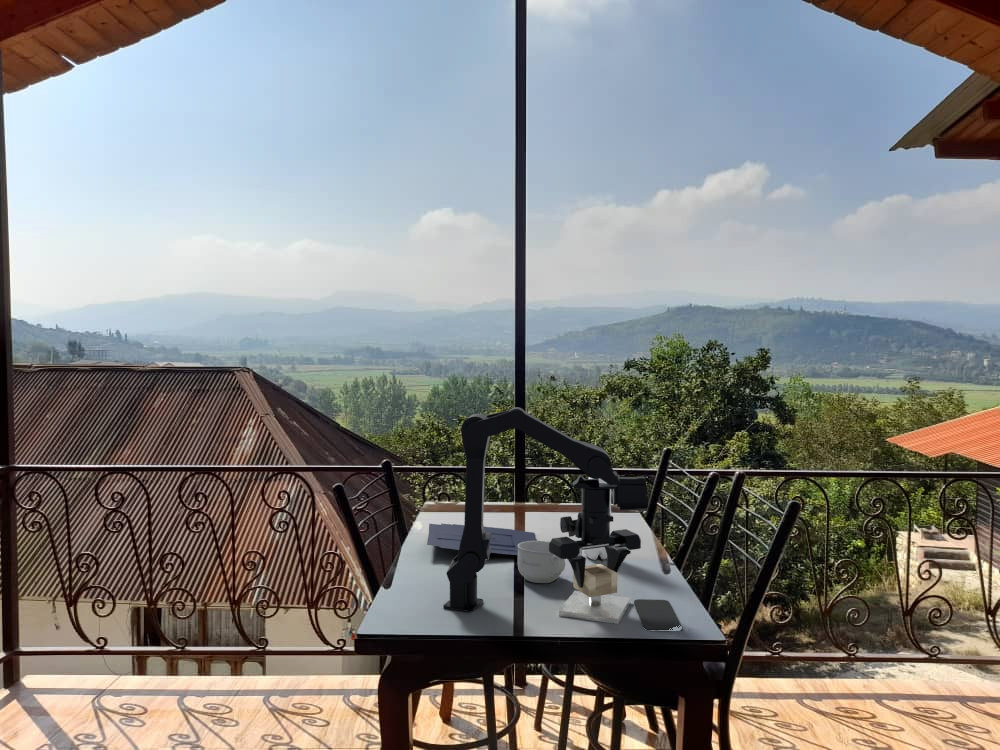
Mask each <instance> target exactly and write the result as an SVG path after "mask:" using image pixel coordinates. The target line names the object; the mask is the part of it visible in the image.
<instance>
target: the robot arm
mask: <svg viewBox="0 0 1000 750" xmlns="http://www.w3.org/2000/svg"><path fill="white" fill-rule="evenodd" d="M513 429H515V430H518V431H520V432H521V433H523V434H525V435H527V437H528V436H529V437H530V438H531V439H534V440H536V441H537V442H539V443H541V444H543V445H545V446H546V447H548V448H549V449H551V450H553V451H555V452H557V453H559V454H561V455H562V456H564V457H565V458H566V459H567V460H568V461H570V462H571V463H572V464H573V465H574V466H575V467H576V468H577V469H579V470H580V471H581V472H583V474H584V475H586V476H587V477H588V478H589V477H590V478H593V479H588V478H585V477H583V475H582V474H579V475H578V477H577V478H576V480H574V481H573V482H572V487H573V489H577V490H578V489H581V512H580V511H578V514H577V519H573V517H572V516H568V515H567V516H562V517H560V519H559V520H560V522H559V527H560V531H561V533H563V534H565V533H568V536H561V537H553V538H551V540H550V541H549V542H550V543H549V552H551V553H552V554H554V555H556V556H557V557H559V558H560V559H564V560H568V563H569V564H570V566H571V569H572V571H573V572H574V575H575V578H576V580H577V583H578V586H579V587H580V588H583V584H584V575H585V566H586V563H587V561H586V560H587V557H586V556H583V555H582V554H583V550H586V549H593V548H600V547H605V550H606V553H607V558H606V567H607V568H609V569H611V570H612V571H614V572H616V573H617V574H618V571H619V569H620V567H621V566H622V564H623V562H624V561H625V560H626V557H627V556H628V555H630V554H631V553H632V551H635V550H639V549H641V548H642V539H641V537H640V535H639V534H638V533H636V532H634V531H632V530H630V529H624V528H623V529H616V530H612V531H611V529H610V527H611V524H610V523H611V522H614V516H613V515H612V514H611V515H610V489H611V490H612V505H613V506H616V507H617V508H618V511H638V512H639V511H642V512H643V511H648V508H649V495H648V489H647V488H648V487H647V479H646V477H645V476H639V475H638V476H633V477H631V476H619V474H618V472H617V471H615V470H614V469H613V467H612V462H611V458H610V457H609V454H608V452H607V451H606V450H605V449H604V448H602V447H601V446H598V445H595V444H593V443H589V442H586V441H582V440H579V439H576V438H574V437H572V436H569V435H567V434H565V433H563V432H562V431H561V430H558V429H556V428H555V427H554V426H551V425H549V424H548V423H546V422H544V421H542V420H541V419H539V418H537V417H535V416H533V415H531V414H529V413H527V411H525V410H524V409H523V408H521V407H520V406H519V407H518V406H517V407H516V406H515V407H512V408H511V409H508V410H503V411H499V412H494V413H492V414H487V415H485V414H483V413H474V414H471V415H470V416H468V418H466V419H465V420H464V421H463V423H462V425H461V427H460V435H461V443H462V448H463V452H464V456H465V459H466V460H465V491H464V492H465V493H464V495H465V496H464V498H465V499H464V520H463V521H464V524H463V525H464V530H463V534H462V538H461V542H460V547H459V550H458V553H457V555H456V556H455V557H454V558H452V560H451V562H450V564H449V566H448V569H447V571H446V577H447V580H448V582H449V600H448V601H446V602H445V603H444V604H443V605H442V607H443V608H444V609H448V610H449V609H450V610H456V611H461V612H462V611H463V612H469V613H470V612H473V611H475V609H477V608H478V607H479V606H480V605H481V604H482V603H483V602H484V599H483V598H478V575H477V573H479V572H480V571H481V570H482V569H484V567H485V564H486V560H487V561H488V560H489V559H490V556H491V554H492V553H491V547H490V538H491V532H487V533H485V530H484V527H485V525H484V509H485V508H484V504H485V503H484V502H485V474H486V473H485V472H486V469H485V468H486V458H487V457H486V456H487V453H488V449H489V443H490V439H491V437H492V436H495V435H499V434H501V433H504V432H507V431H508V432H509V431H510V430H513ZM599 479H602V480H603V481H605V482H606V483H599ZM610 531H611V532H610ZM574 536H575V538H577V539H581V540H575V539H572V538H570V537H574Z"/></svg>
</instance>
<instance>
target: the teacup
mask: <svg viewBox="0 0 1000 750" xmlns="http://www.w3.org/2000/svg"><path fill="white" fill-rule="evenodd" d="M549 543H550V541H549V540H547V541H545V540H537V541H526V542H522V543H519V544H518V546H517V547H518V555H517V568H518V571H519V574H520V575H521V576H522V577H523V578H524V579H525V580H526V581H527V582H531V583H534V584H535V583H536V584H549V583H552V582H554V581H555V580H556V579H557V578H559V577H560V576H561V574H562V573H563V572H564V570H565V568H566V559H560V558H559V557H557V556H556V555H554V554H552V553H551V552H549Z"/></svg>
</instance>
